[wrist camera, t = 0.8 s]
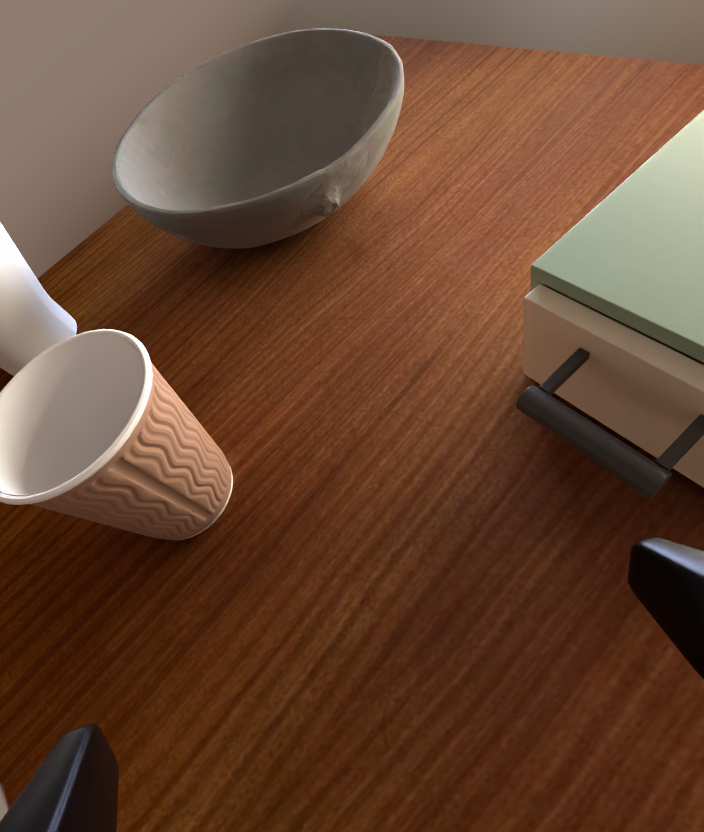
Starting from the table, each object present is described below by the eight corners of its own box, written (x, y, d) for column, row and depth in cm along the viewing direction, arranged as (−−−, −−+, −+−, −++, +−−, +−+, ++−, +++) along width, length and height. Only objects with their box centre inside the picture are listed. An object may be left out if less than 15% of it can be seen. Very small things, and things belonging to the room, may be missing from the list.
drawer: (692, 584, 23) (751, 543, 17) (472, 419, 30) (463, 352, 24) (909, 339, 25) (1023, 232, 20) (658, 244, 33) (689, 146, 27)
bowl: (309, 105, 58) (276, 7, 50) (479, 162, 44) (471, 37, 36) (138, 238, 54) (70, 154, 46) (263, 349, 40) (197, 255, 31)
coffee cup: (201, 408, 38) (92, 303, 28) (284, 476, 33) (186, 376, 23) (103, 508, 36) (-53, 433, 26) (175, 600, 30) (14, 548, 21)
